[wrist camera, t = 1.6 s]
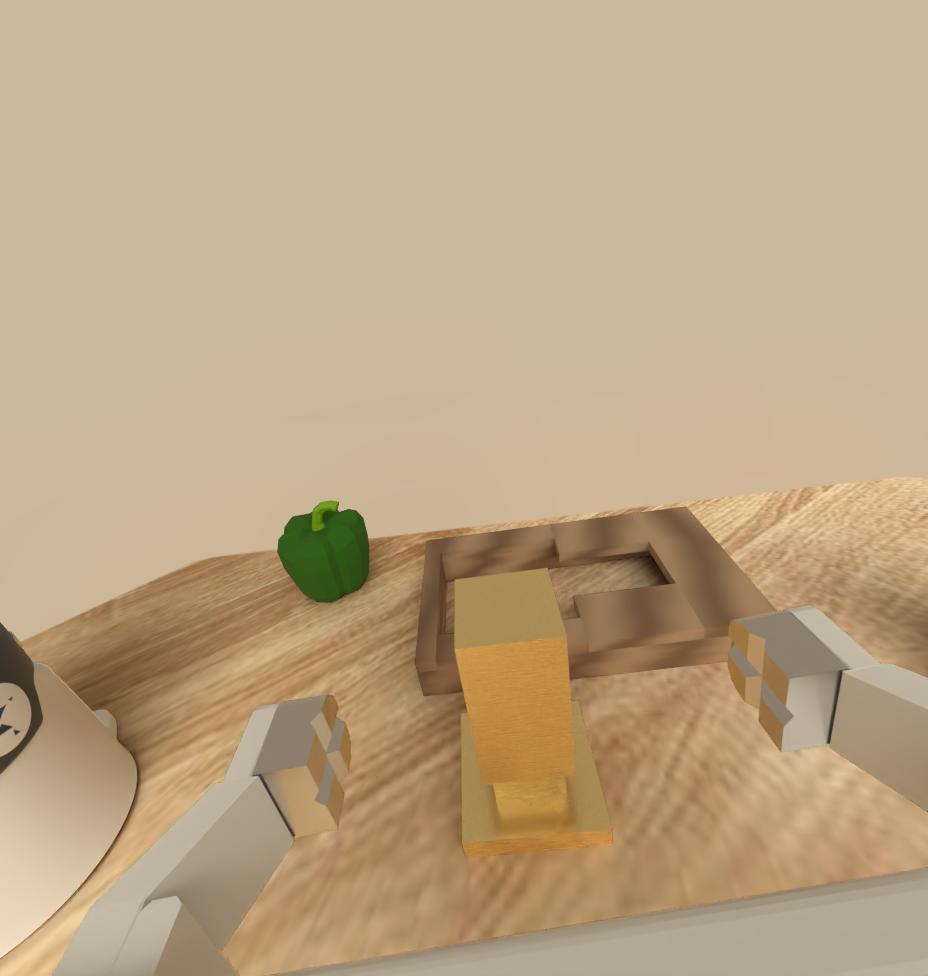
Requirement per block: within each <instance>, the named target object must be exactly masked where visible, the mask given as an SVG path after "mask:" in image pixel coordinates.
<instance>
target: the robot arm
mask: <svg viewBox="0 0 928 976" xmlns="http://www.w3.org/2000/svg"><path fill="white" fill-rule="evenodd" d="M728 636H729V637H730V638H731V640H732V641H733V642H734V643H735V644H734V645H733V647H732V648H731V649H730V650H729V652H728V668H729V672H730V676H731V679H732V681H733V683H734V685H735V687H736V689H737V691H738V693H739V694H740V695H741V697H742V698H743V700H744V701H745V702H747V703H748V704H750V705H752V706H754V707H756V708H758V709H759V722H760V724H761V725H762V726H763V728H764V729H765V731H766V732H767V733H768V735H769V736H770V737H771V739H772V740H773V742H774V743H775V744H776V746H777V747H778V749H779V750H780V751H781V752H786V751H793V750H800V749H807V748H814V747H821V746H828V745H830V746H829V748H830V749H832V750H833V751H835V752H836V753H838V754H839V755H841V756H843V757H844V758H846V759H847V760H849V761H850V762H852V763H853V764H855V765H856V766H858V767H859V768H861V769H863V770H864V771H866V772H867V773H869V774H870V775H872V776H873V777H875V778H876V779H878V780H879V781H881V782H882V783H884V784H886V785H887V786H889V787H890V788H892V789H893V790H895V791H896V792H898V793H899V794H901V795H902V796H904V797H906V798H907V799H909V800H910V801H912V802H913V803H915V804H916V805H918V806H919V807H921V808H922V809H924V810H925V811H927V812H928V677H925V676H922V675H920V674H917V673H915V672H912V671H910V670H907V669H905V668H902V667H899V666H897V665H894V664H892V663H886V664H881V663H880V662H878V661H877V660H876V659H875V658H874V657H873V656H872V655H870V654H869V653H868V652H867V651H866V650H865V649H864V648H862V647H861V646H860V645H859V644H858V643H857V642H856V641H854V640H853V639H852V638H851V637H850V636H849V635H848V634H846V633H845V632H844V631H843V630H842V629H841V628H840V627H838V626H837V625H836V624H835V623H834V622H833V621H832V620H830V619H829V618H828V617H827V616H826V615H825V614H824V613H822V612H821V611H820V610H819V609H818V608H816V607H814V606H811V605H806V606H801V607H795V608H790V609H785V610H783V611H775V612H770V613H765V614H760V615H755V616H750V617H744V618H739V619H734V620H732V621H731V623H730V625H729V633H728ZM21 646H22V644H21V643H20V641H19V640H18V639H17V638H16V636H15V635H14V634H13V633H12V632H8V631H7V629H6V628H5V627H4V626H3V625H2V624H1V623H0V958H1V957H3V956H4V955H5V954H7V953H8V952H9V951H11V950H12V949H13V948H15V947H16V946H17V945H18V944H20V943H21V942H22V941H23V940H25V939H26V938H27V937H28V936H29V935H31V934H32V933H33V932H34V931H35V930H36V929H38V928H39V927H40V926H41V925H42V924H43V923H44V922H45V921H46V920H47V919H49V918H50V917H51V916H52V915H53V914H54V913H55V912H56V911H57V910H58V909H59V908H60V907H61V906H62V905H63V904H64V903H65V902H66V901H67V900H68V899H69V898H70V897H71V896H72V894H73V893H74V892H75V891H76V890H77V889H78V888H79V887H80V885H81V884H82V883H83V882H84V881H85V880H86V878H87V877H88V876H89V875H90V874H91V872H92V871H93V870H94V868H95V867H96V866H97V865H98V863H99V862H100V860H101V859H102V858H103V856H104V855H105V853H106V852H107V850H108V849H109V847H110V846H111V844H112V843H113V841H114V839H115V838H116V836H117V834H118V833H119V831H120V829H121V827H122V825H123V823H124V821H125V819H126V817H127V815H128V812H129V810H130V807H131V804H132V802H133V798H134V795H135V790H136V784H137V768H136V764H135V761H134V758H133V757H132V755H131V754H130V752H129V751H128V750H127V749H126V748H125V747H123V746H122V745H121V744H120V743H119V741H118V740H117V722H116V719H115V717H114V716H113V715H112V714H111V713H110V712H109V711H107V710H105V709H100V710H96V711H92V710H91V709H90V708H89V707H88V706H87V705H86V704H85V703H84V702H83V701H82V700H81V699H80V698H79V697H78V696H77V695H76V694H75V692H74V691H73V690H72V689H71V688H70V687H69V686H68V685H67V684H66V683H65V682H64V681H63V680H62V679H61V678H60V677H59V676H58V675H57V674H56V673H55V672H54V671H53V670H52V669H51V668H50V667H48V666H47V665H45V664H43V663H40V662H36V663H33V662H32V661H31V659H30V658H29V657H28V655H27V654H26V653H25V651H24V650H23V649H22V647H21ZM337 711H338V705H337V703H336V701H335V699H334V697H333V695H322V696H316V697H309V698H303V699H297V700H290V701H284V702H281V703H275V704H268V705H262V706H258V707H257V708H256V709H255V710H254V711H253V713H252V715H251V717H250V719H249V722H248V724H247V726H246V729H245V731H244V733H243V736H242V738H241V740H240V743H239V745H238V747H237V750H236V752H235V754H234V757H233V759H232V761H231V764H230V766H229V768H228V771H227V773H226V775H225V778H224V780H223V782H220V783H215V784H214V785H213V786H212V787H211V788H210V789H209V790H208V791H207V792H206V793H205V794H204V795H203V796H202V797H201V798H200V799H199V800H198V801H197V802H196V803H195V804H194V805H193V806H192V807H191V808H190V809H189V810H188V811H187V812H186V813H185V814H184V815H183V816H182V817H181V818H180V819H179V820H178V821H177V822H176V823H175V824H174V825H173V826H172V827H171V828H170V829H169V830H168V831H167V832H166V833H165V834H164V835H163V836H162V837H161V838H160V839H159V840H158V841H157V842H156V843H155V844H154V845H153V846H152V847H150V848H149V849H148V850H147V851H146V852H145V853H144V854H143V855H142V856H141V857H140V858H139V859H138V860H137V861H136V862H135V863H134V864H133V865H132V866H131V867H130V868H129V869H128V870H127V871H126V872H125V873H124V874H123V875H122V876H121V877H120V878H119V879H118V880H117V881H116V882H115V883H114V884H113V885H112V886H111V887H110V888H109V889H108V890H107V891H106V892H105V893H104V894H103V895H102V896H101V897H100V898H99V899H98V900H97V901H96V902H95V903H94V904H93V905H92V906H91V907H90V908H89V910H88V912H87V913H86V915H85V917H84V919H83V921H82V923H81V924H80V926H79V928H78V930H77V932H76V933H75V935H74V937H73V939H72V941H71V942H70V944H69V946H68V948H67V950H66V951H65V953H64V955H63V957H62V959H61V960H60V962H59V964H58V966H57V968H56V970H55V971H54V973H53V975H52V976H239V973H238V971H237V970H236V969H235V968H234V966H233V965H232V964H231V963H230V961H229V960H228V959H227V958H226V956H225V955H224V954H223V953H222V950H223V948H224V947H225V945H226V944H227V942H228V941H229V939H230V938H231V936H232V935H233V933H234V932H235V930H236V929H237V927H238V926H239V924H240V923H241V921H242V920H243V918H244V917H245V915H246V914H247V912H248V911H249V909H250V908H251V906H252V905H253V903H254V902H255V900H256V899H257V897H258V896H259V894H260V893H261V891H262V890H263V888H264V886H265V885H266V883H267V882H268V880H269V879H270V877H271V876H272V874H273V873H274V871H275V870H276V868H277V867H278V865H279V864H280V862H281V861H282V859H283V858H284V856H285V855H286V853H287V852H288V850H289V849H290V847H291V846H292V844H293V843H294V838H297V837H302V836H307V835H312V834H317V833H321V832H326V831H331V830H336V829H338V826H339V820H340V815H341V810H342V804H343V799H344V792H343V790H342V787H341V785H340V782H341V781H342V779H343V778H344V777H345V776H346V774H347V773H348V772H349V765H350V759H351V742H350V737H349V732H348V729H347V727H346V724H345V722H344V721H342V720H340V719H339V718H337V717H336V715H337ZM264 976H928V867H925V868H919V869H913V870H907V871H901V872H894V873H888V874H882V875H876V876H870V877H864V878H858V879H852V880H846V881H840V882H833V883H827V884H821V885H815V886H809V887H803V888H796V889H790V890H784V891H778V892H772V893H766V894H760V895H753V896H747V897H741V898H735V899H729V900H723V901H716V902H710V903H704V904H698V905H692V906H686V907H679V908H673V909H667V910H661V911H655V912H649V913H643V914H636V915H630V916H624V917H618V918H612V919H606V920H600V921H594V922H588V923H581V924H575V925H569V926H563V927H557V928H551V929H545V930H539V931H533V932H527V933H521V934H514V935H508V936H502V937H496V938H490V939H484V940H478V941H472V942H466V943H460V944H453V945H447V946H441V947H435V948H429V949H423V950H417V951H411V952H405V953H398V954H392V955H386V956H380V957H374V958H368V959H362V960H356V961H350V962H343V963H337V964H331V965H325V966H319V967H313V968H307V969H301V970H295V971H288V972H282V973H276V974H270V975H264Z"/></svg>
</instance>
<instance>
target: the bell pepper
mask: <svg viewBox="0 0 928 976" xmlns="http://www.w3.org/2000/svg"><path fill="white" fill-rule="evenodd" d="M338 505H339V502H336V501H326V502H321V503H320V504H318V505H317V506H316V507H315V508H314V510H313V512H311V513H309V514H305V515H299V516H294V517H292V518H291V519H290V521H289V522H288V523H287V525H286V526H285V529H284V535H282V536H281V537H280V539H279V541H278V551H277V552H278V554H279V557H280V559H281V561H282V564H283V566H284V568H285V570H286V571H287V573H288V574H289V575H290V577H291V578H292V580H293V581H294V582H295V584H296V585H297V586H298V587H299V588H300V590H301V591H302V592H303V593H304V594H306V595H307V596H309V597H310V598H312V599H314V600H316V601H318V602H332V601H334V600H336V599H339V598H341V597H342V596H343V595H344V593H351V592H353V591H355V590H357V589H359V588H360V587H361V586H362V584H363V583H364V581H365V579H366V577H367V575H368V571H369V543H368V535H367V531H366V527H365V523H364V519H363V517H362V516H361V515H360V514H359V513H358V512H357V511H356V510H351V509H347V510H344V511H341V512H339V511H338V510H337V509H338Z"/></svg>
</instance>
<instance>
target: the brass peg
mask: <svg viewBox="0 0 928 976" xmlns="http://www.w3.org/2000/svg"><path fill="white" fill-rule="evenodd" d="M454 650H455V655H456V660H457V664H458V669H459V674H460V679H461V683H462V688H463V693H464V698H465V703H466V707H467V712H468V713H461V791H462V845H463V849H464V853H465V856H466V858H476V857H486V856H496V855H507V854H517V853H527V852H538V851H548V850H558V849H569V848H579V847H589V846H600V845H610V844H613V829H612V825H611V821H610V817H609V814H608V810H607V806H606V802H605V799H604V795H603V791H602V787H601V784H600V780H599V776H598V772H597V769H596V765H595V761H594V757H593V754H592V750H591V746H590V743H589V739H588V735H587V731H586V728H585V724H584V720H583V716H582V713H581V709H580V705H579V701H578V700H576V701H571V693H570V678H569V662H568V647H567V635H566V631H565V628H564V624H563V621H562V617H561V614H560V610H559V607H558V603H557V600H556V596H555V592H554V589H553V585H552V582H551V578H550V575H549V571H548V568H542V569H535V570H527V571H519V572H511V573H503V574H495V575H487V576H479V577H471V578H464V579H456V580H455V622H454Z"/></svg>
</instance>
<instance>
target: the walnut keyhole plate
mask: <svg viewBox="0 0 928 976" xmlns="http://www.w3.org/2000/svg"><path fill="white" fill-rule="evenodd" d="M644 556H652V557H653V558H654V560H655V562H656V563H657V565H658V566H659V568H660V570H661V571H662V573H663V574H664V576H665V578H666V579H667V581H668V582H669V584H667V585H659V586H651V587H643V588H635V589H627V590H619V591H610V592H602V593H594V594H586V595H578V596H573V597H574V607H575V610H576V614H577V617H578V618H574V619H566V620H562V621H563V624H564V628H565V631H566V635H567V647H568V662H569V678H570V679H577V678H586V677H595V676H603V675H612V674H621V673H629V672H638V671H647V670H656V669H664V668H673V667H682V666H690V665H699V664H708V663H717V662H725V661H728V652H729V650H730V649H731V648H732V647H733V645H734V644H735V643H734V642H733V641H732V640H731V638H730V637H729V636H728V633H729V625H730V623H731V621H732V620H734V619H739V618H744V617H750V616H755V615H760V614H765V613H770V612H775V611H777V610H776V609H775V608H774V607H773V606H772V605H771V603H770V602H769V601H768V600H767V599H766V598H765V597H764V595H763V594H762V593H761V592H760V591H759V590H758V589H757V587H756V586H755V585H754V584H753V583H752V582H751V580H750V579H749V578H748V577H747V576H746V575H745V574H744V572H743V571H742V570H741V569H740V568H739V567H738V566H737V564H736V563H735V562H734V561H733V560H732V559H731V558H730V556H729V555H728V554H727V553H726V552H725V551H724V549H723V548H722V547H721V546H720V545H719V544H718V543H717V541H716V540H715V539H714V538H713V537H712V536H711V535H710V533H709V532H708V531H707V530H706V529H705V528H704V527H703V525H702V524H701V523H700V522H699V521H698V520H697V518H696V517H695V516H694V515H693V514H692V513H691V512H690V510H689V509H688V508H687V507H679V508H671V509H664V510H656V511H648V512H641V513H633V514H626V515H618V516H610V517H603V518H595V519H588V520H580V521H573V522H565V523H557V524H550V525H542V526H535V527H527V528H519V529H512V530H504V531H497V532H489V533H482V534H474V535H466V536H459V537H451V538H444V539H436V540H428V541H427V544H426V555H425V565H424V575H423V585H422V596H421V606H420V616H419V627H418V637H417V647H416V657H415V665H416V669H417V672H418V676H419V680H420V684H421V687H422V691H423V695H424V696H429V695H438V694H447V693H455V692H463V688H462V683H461V679H460V674H459V669H458V664H457V660H456V655H455V650H454V633H451V634H445V619H446V583H447V581H455V580H456V579H464V578H471V577H479V576H487V575H495V574H503V573H511V572H519V571H527V570H535V569H542V568H548V569H549V568H557V567H565V566H573V565H581V564H589V563H597V562H605V561H612V560H620V559H628V558H636V557H644Z"/></svg>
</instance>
